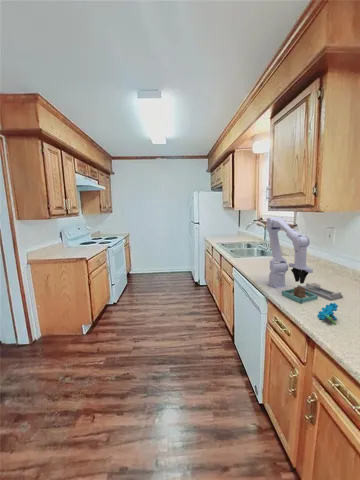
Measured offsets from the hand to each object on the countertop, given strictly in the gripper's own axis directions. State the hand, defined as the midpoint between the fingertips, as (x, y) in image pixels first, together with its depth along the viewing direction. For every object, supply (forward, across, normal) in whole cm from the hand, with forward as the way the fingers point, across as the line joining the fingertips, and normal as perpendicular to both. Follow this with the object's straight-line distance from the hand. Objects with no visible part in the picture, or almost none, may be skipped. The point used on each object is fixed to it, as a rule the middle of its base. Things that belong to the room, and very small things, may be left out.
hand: (299, 282), depth 131 cm
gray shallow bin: (+9, 0, -14) cm, 17 cm away
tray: (+9, 0, 0) cm, 9 cm away
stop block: (+8, 0, 0) cm, 8 cm away
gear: (+9, -24, +8) cm, 27 cm away
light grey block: (+9, +3, -14) cm, 17 cm away
